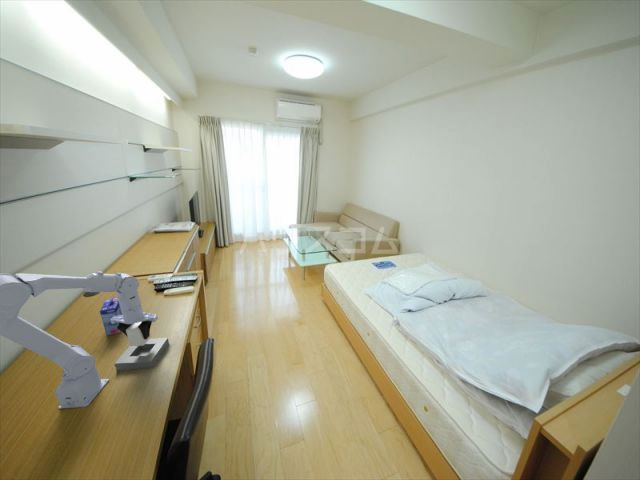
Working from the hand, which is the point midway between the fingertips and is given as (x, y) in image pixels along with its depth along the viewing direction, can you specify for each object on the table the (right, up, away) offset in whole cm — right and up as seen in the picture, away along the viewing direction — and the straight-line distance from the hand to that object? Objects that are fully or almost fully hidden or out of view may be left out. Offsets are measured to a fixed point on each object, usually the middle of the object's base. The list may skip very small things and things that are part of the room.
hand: (139, 337), depth 89 cm
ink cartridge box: (-23, -3, +18) cm, 29 cm away
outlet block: (0, -8, +3) cm, 8 cm away
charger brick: (0, -2, +1) cm, 2 cm away
